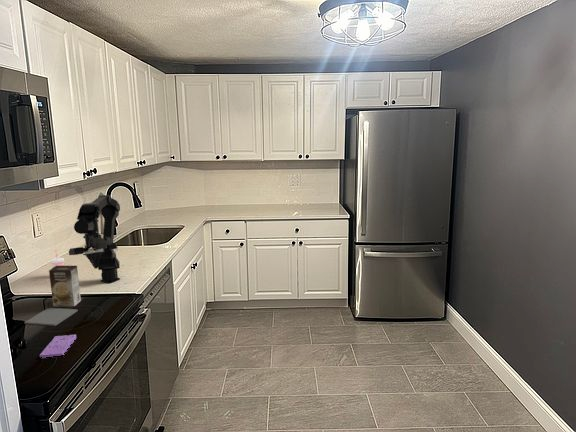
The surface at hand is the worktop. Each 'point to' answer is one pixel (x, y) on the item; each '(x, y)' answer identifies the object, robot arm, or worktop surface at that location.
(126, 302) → the worktop surface
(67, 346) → the sponges
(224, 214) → the worktop surface
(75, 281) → the coffee box
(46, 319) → the tipping mat
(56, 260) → the beverage cup
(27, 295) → the worktop surface
